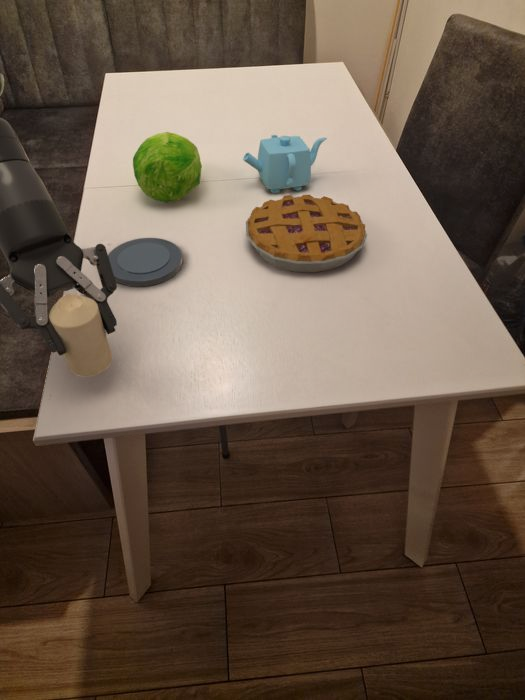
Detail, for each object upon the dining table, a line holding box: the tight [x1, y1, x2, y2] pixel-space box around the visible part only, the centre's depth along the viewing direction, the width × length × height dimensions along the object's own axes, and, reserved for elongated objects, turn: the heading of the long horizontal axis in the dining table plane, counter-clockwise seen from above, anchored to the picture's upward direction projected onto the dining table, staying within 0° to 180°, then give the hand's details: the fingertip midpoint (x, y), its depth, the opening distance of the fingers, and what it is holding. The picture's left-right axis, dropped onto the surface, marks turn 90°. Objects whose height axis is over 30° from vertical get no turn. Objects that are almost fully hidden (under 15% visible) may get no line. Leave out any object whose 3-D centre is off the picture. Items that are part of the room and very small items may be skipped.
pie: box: [245, 194, 368, 273], centre depth 88 cm, size 22×22×5 cm
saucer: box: [108, 237, 183, 288], centre depth 84 cm, size 13×13×1 cm
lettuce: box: [132, 131, 203, 204], centre depth 100 cm, size 14×20×12 cm
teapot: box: [242, 134, 328, 194], centre depth 103 cm, size 18×14×10 cm
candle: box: [48, 293, 113, 377], centre depth 59 cm, size 6×6×10 cm
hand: (87, 342), depth 58 cm, fingers closed on candle, 5 cm apart
